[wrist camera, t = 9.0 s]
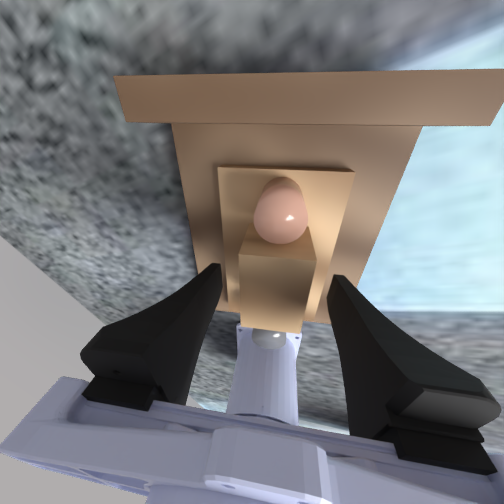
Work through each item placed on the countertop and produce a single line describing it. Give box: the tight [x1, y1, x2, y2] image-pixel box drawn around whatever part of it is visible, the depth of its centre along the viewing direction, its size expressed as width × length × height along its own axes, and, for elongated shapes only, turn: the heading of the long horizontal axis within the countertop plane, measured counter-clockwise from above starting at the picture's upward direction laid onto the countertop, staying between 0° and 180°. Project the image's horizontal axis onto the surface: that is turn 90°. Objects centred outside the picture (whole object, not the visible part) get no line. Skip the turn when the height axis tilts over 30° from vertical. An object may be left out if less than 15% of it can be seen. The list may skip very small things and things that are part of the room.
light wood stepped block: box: [113, 69, 504, 324], centre depth 14 cm, size 18×14×6 cm
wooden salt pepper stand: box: [217, 165, 356, 349], centre depth 14 cm, size 13×8×5 cm, turn 179°
